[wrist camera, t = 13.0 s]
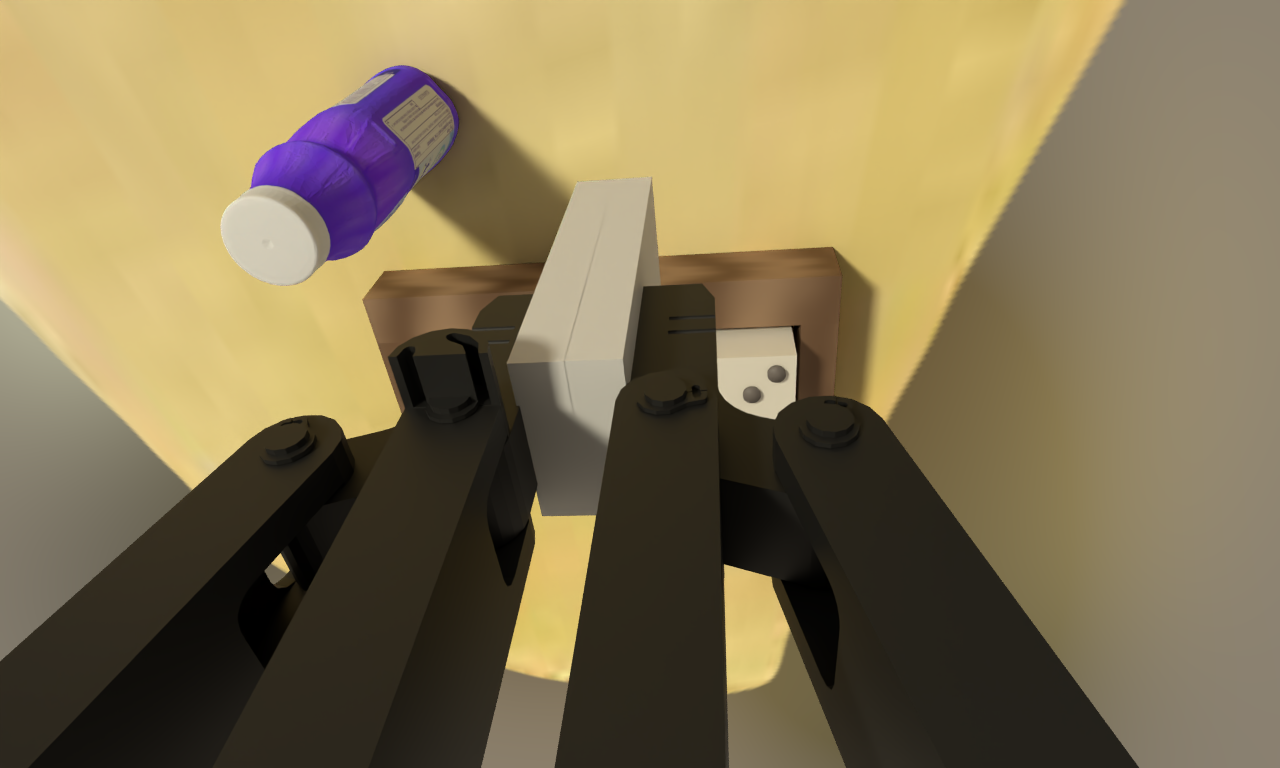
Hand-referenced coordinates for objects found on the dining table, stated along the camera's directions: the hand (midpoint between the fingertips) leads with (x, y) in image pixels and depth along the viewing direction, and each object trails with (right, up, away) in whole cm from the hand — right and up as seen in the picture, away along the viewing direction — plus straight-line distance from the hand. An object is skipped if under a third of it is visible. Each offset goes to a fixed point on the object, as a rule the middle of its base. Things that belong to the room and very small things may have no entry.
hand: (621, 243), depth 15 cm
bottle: (-14, +13, +30) cm, 35 cm away
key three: (+8, 0, +36) cm, 37 cm away
